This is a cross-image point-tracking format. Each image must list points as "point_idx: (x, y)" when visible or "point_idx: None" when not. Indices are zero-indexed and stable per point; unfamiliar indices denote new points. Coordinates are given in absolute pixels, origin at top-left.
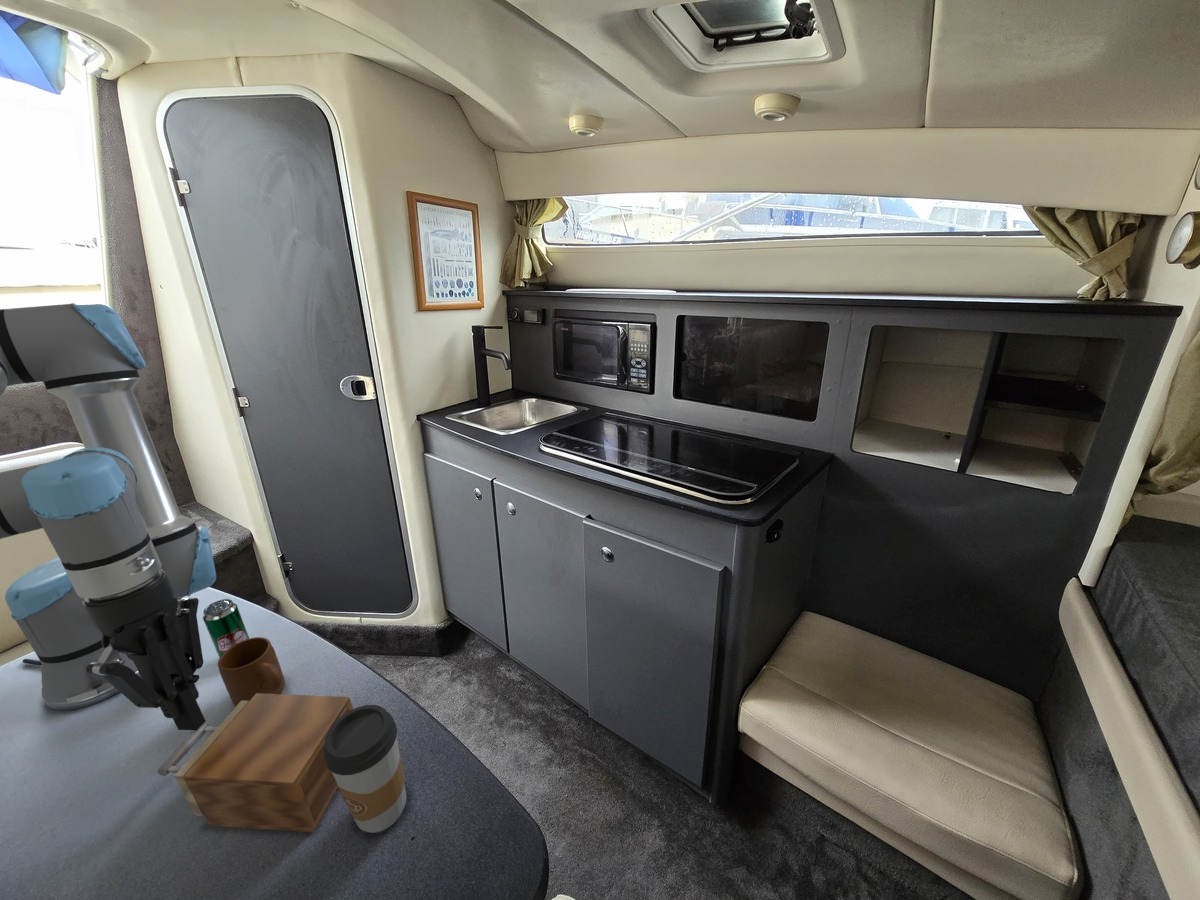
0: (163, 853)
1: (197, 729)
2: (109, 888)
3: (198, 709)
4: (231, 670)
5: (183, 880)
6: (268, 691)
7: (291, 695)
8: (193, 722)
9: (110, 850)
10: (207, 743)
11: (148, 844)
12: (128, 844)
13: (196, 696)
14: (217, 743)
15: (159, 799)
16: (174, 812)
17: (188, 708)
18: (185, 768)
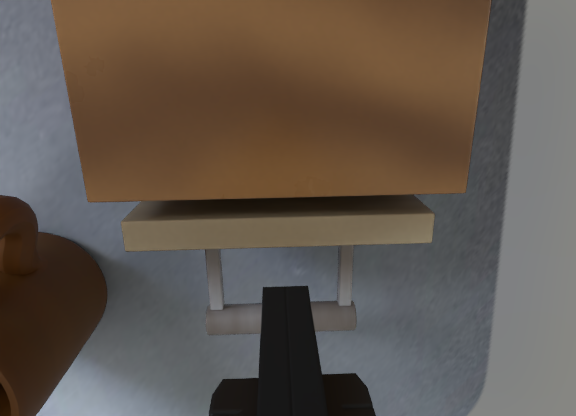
0: (441, 198)
1: (304, 286)
2: (497, 246)
3: (268, 332)
4: (14, 387)
5: (497, 107)
6: (39, 252)
7: (57, 10)
8: (310, 310)
9: (430, 304)
10: (312, 230)
11: (422, 243)
12: (420, 282)
13: (229, 389)
14: (334, 175)
15: (333, 300)
16: (359, 246)
17: (311, 366)
18: (406, 228)
